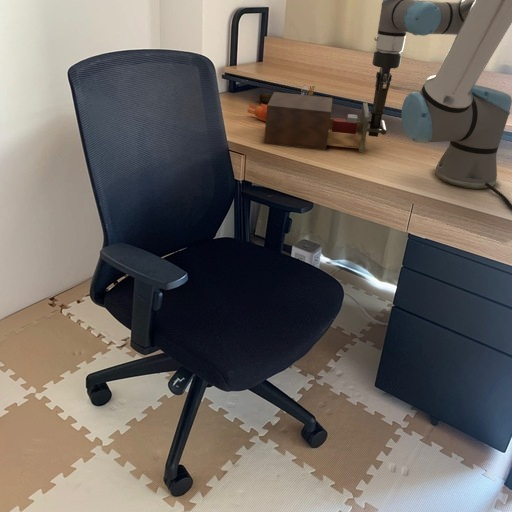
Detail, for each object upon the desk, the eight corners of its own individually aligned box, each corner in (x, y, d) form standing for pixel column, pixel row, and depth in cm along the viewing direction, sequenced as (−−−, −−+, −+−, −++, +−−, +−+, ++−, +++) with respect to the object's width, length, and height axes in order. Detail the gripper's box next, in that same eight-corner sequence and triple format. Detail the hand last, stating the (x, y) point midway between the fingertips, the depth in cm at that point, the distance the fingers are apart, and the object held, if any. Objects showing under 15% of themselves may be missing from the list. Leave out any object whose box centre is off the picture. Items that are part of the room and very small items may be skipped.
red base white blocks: (354, 136, 158) (358, 115, 155) (354, 140, 155) (358, 118, 152) (331, 134, 159) (334, 112, 155) (331, 137, 156) (334, 115, 152)
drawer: (380, 136, 164) (386, 104, 159) (383, 154, 149) (390, 119, 144) (304, 128, 166) (307, 96, 161) (300, 145, 151) (304, 110, 146)
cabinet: (327, 133, 166) (332, 97, 160) (325, 150, 151) (331, 111, 145) (271, 126, 167) (274, 91, 162) (264, 143, 153) (267, 105, 147)
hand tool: (258, 103, 192) (259, 90, 190) (266, 101, 195) (267, 89, 192) (291, 116, 180) (293, 102, 178) (300, 115, 182) (302, 101, 180)
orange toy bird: (246, 99, 172) (276, 107, 166) (259, 103, 178) (288, 110, 173) (243, 114, 173) (272, 122, 168) (255, 118, 180) (284, 126, 174)
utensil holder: (307, 117, 180) (311, 81, 174) (316, 122, 175) (320, 85, 169) (291, 117, 178) (295, 81, 172) (300, 123, 173) (304, 86, 167)
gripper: (373, 46, 149) (359, 128, 161) (376, 53, 138) (361, 140, 150) (399, 49, 149) (384, 130, 160) (404, 56, 137) (387, 143, 149)
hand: (373, 135), depth 155 cm, fingers closed
